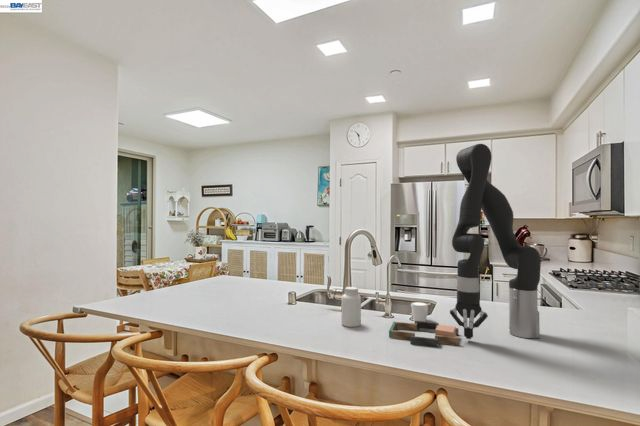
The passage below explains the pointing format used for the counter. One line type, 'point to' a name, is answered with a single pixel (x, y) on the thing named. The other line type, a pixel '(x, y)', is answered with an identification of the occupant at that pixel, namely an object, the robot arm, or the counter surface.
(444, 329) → the terracotta block
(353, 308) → the pill bottle
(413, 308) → the white tapered cylinder
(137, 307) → the counter surface
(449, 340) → the trap lane
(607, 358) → the counter surface
